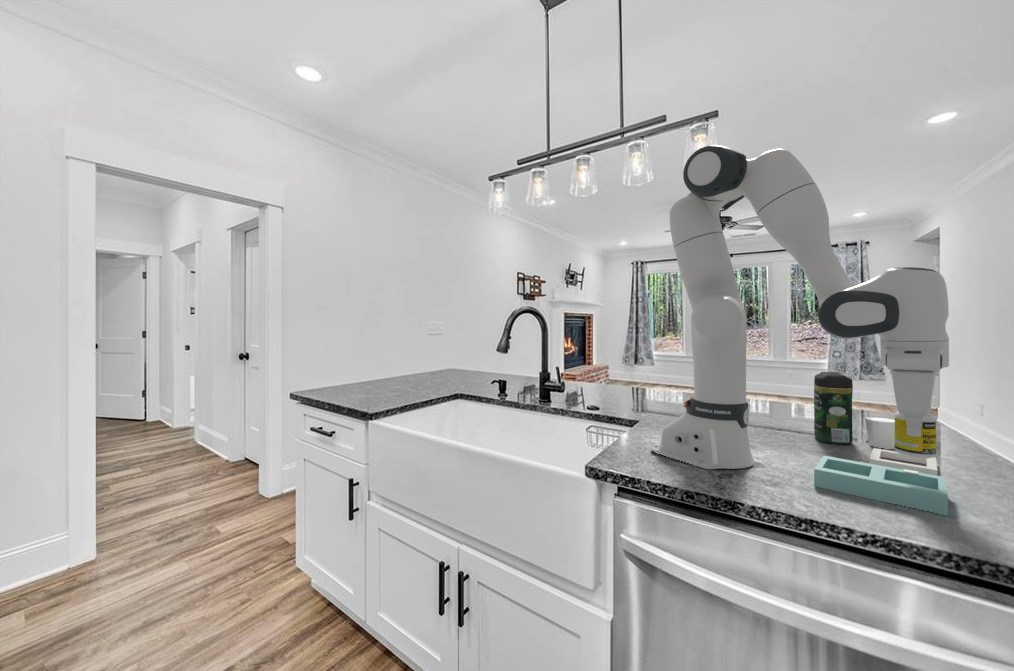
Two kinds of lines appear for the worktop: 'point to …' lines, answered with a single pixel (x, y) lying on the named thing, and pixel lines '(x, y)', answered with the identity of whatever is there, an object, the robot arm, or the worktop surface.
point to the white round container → (881, 432)
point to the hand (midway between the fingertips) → (914, 431)
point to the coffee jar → (833, 408)
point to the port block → (883, 484)
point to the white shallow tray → (879, 453)
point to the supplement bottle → (916, 445)
